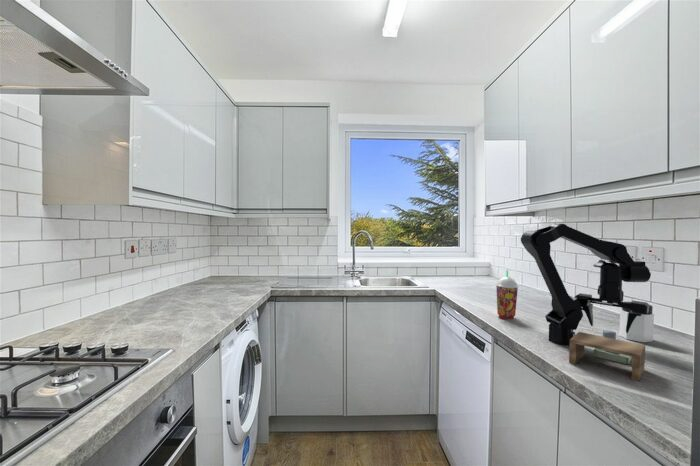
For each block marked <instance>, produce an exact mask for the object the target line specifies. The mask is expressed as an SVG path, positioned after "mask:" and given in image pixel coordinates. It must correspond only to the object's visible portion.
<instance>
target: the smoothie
mask: <svg viewBox="0 0 700 466" xmlns="http://www.w3.org/2000/svg"><path fill="white" fill-rule="evenodd" d="M505 273H506V276H503V277H501V278H500V279H498V281H497V283H496V284H495V286H496V308H497V309H496V310H497V315H498V317H499V318H500V319H502V320H503V319H504V320H513V319H514V318H515V316H516V312H517V311H516V310H517V302H518V301H517V299H518V289H519V288H518V287H519V286H518V284H517V282H516V280H515V279H513V278H512V277H510V276H509V270H506V272H505Z"/></svg>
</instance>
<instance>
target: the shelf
mask: <svg viewBox="0 0 700 466" xmlns="http://www.w3.org/2000/svg"><path fill="white" fill-rule="evenodd" d="M585 347H587V348H588V347H589V348H593V349H595V348H597V349H601V350H605V351H610V352H614V353H619V354H623V355H627V356H632V359H631V380H633V381H637V382H640V381H641V379H642V377H643V373H644V371H645V366H646V365H645V363H646V361H645V360H646V345H645V344H641V343H635V342H630V341H625V340H621V339H612V338H607V337H603V335H602V336H601V335H596V334H591V333H587V332H581V331H578V332H577V333H575V336H573V337H572V338H571V339H570V346H569V354H568V355H569V356H568V363H569V364H573V365H577V363H578V362H579V361H580V360H581V359H582V358H583V357H584V356H585Z"/></svg>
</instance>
